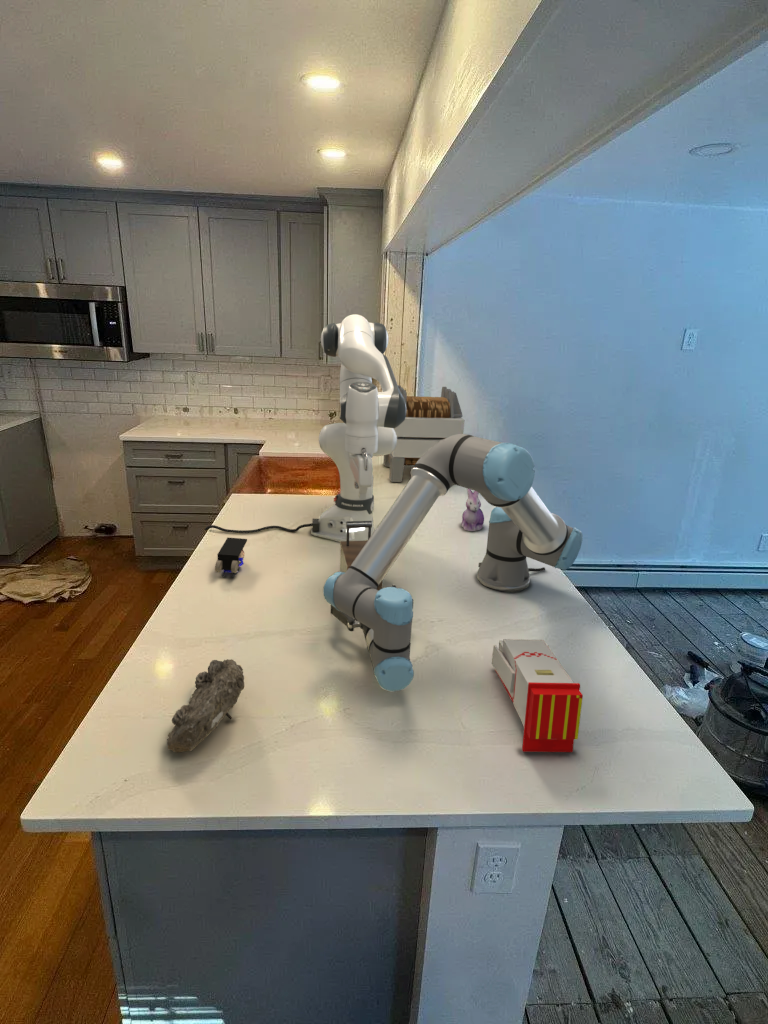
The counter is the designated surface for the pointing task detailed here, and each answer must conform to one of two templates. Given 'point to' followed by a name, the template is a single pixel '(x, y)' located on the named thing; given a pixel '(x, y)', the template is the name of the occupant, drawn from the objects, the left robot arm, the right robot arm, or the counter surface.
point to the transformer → (423, 428)
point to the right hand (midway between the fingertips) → (367, 591)
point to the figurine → (472, 513)
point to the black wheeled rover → (230, 556)
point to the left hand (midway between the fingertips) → (359, 493)
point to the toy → (539, 694)
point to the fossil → (206, 705)
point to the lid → (354, 547)
